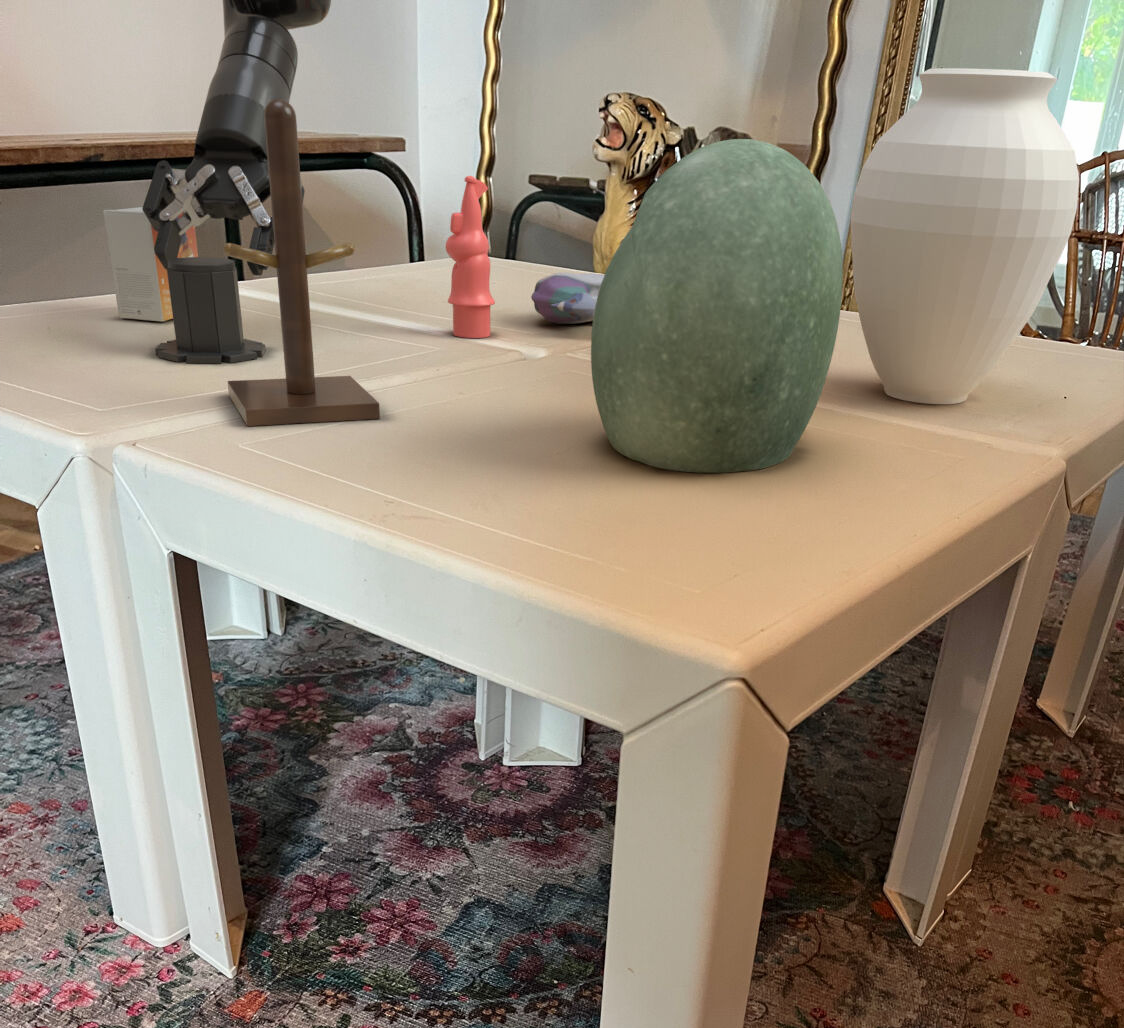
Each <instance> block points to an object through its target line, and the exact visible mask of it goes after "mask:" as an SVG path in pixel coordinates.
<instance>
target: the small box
mask: <svg viewBox="0 0 1124 1028" xmlns="http://www.w3.org/2000/svg"><path fill="white" fill-rule="evenodd" d="M142 208H143V206H139V207H131V208H121V209H103V211H102V212H103V219H104V225H105V233H106V240H107V245H108V253H109V259H110V266H111V271H112V273H111V274H112V280H113V287H114V293H115V299H116V305H117V312H118V317H119V318H120V319H128V320H141V321H153V322H167V321H169V320H173V314H172V306H171V298H170V290H169V283H168V275H167V270H166V269H165V268H164V267H163V265H162V263H161V262H160V261H159V259H158V257H157V256H156V254H155V251H154V246H155V243H156V240H157V239H156V238H157V235H158V232H157V231H155V230H154V228H153V227H152V225H151V223H150V222H149V220H148V218H147V217H146V215H145V213H144V212H143V209H142ZM182 216H183V213H181V214H180V215H179V216H178V217H177V218H176V221H177V220H178V219H179V218H180V217H182ZM196 234H197V233H196V226H192V227H191V228H190V229H188V230H187V231H186V232H185V233H184V234H183V235H181V238H182V241H181V245H180V249H179V253H178V257H177V258H185V257H199V253H198V252H199V251H198V243H197V235H196Z"/></svg>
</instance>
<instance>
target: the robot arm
mask: <svg viewBox="0 0 1124 1028" xmlns="http://www.w3.org/2000/svg"><path fill="white" fill-rule="evenodd" d="M331 5H332V0H222V10H223V31H224V34H223V35H224V37H223V38H224V40H223V43H222V47H221V50H220V55H219V59H218V63H217V67H216V69H215V72H214V75H213V76H212V78H211V81H210V83H209V87H208V90H207V94H206V98H205V101H204V105H203V110H202V114H201V116H200V117H201V118H200V122H199V126H198V128H197V129H198V130H197V134H196V137H195V141H194V150H193V159H192V161H191V163H190V164H189V165H188V166H187V167H186V169H180V168H173V167H171V165H170V163H169V161H167V160H160V161H158V162H157V164H156V167H155V169H154V172H153V175H152V178H151V181H150V184H149V187H148V190H147V193H146V196H145V198H144V202H143V205H142V207H143V208H142V209H143V212H144V213H145V215H146V217H147V218H148V220H149V222H150V223H151V225H152V227H153V228H154V230H155V231H157V232H158V235H157V238H156V239H157V240H156V243H155V246H154V251H155V254H156V256H157V257H158V259H159V261H160V262H161V263H162V265H163V267H164V268H165V269H166V270H167V269H168V260H170V259H175V258H177V257H178V253H179V249H180V245H181V241H182V238H181V235H183V234H184V233H185V232H186V231H187V230H188V229H190V228H191V227H192V226H195V228H196V227H199V226H201V225H202V224H203V223H204V222H206V221H207V220H208V219H209V218H210V219H217V220H219V219H225V218H228V219H232V220H235V221H243V219H244V218H246V217H249V216H250V218H251V220H252V221H253V222H254V224H255V226H254V227H253V230H252V234H251V238H250V241H249V247H248V248H251V249H254V250H258V251H262V252H265V253H269V254H273V252H274V249H275V242H274V230H273V218H272V216H271V217H270V215H269V214H268V212H267V210H266V208H265V207H264V205H263V204H264V203H265V202H266V201H267V200H268V199H269V198H271V194H270V182H269V170H268V159H267V147H266V135H265V123H264V110H265V107H266V105H267V104H268V103H269V102H270V101H272V100H274V99H282V100H285V101H287V102H288V103H289V104H290V99H291V95H292V92H293V87H294V83H295V78H296V74H297V68H298V63H299V62H298V61H299V51H298V46H297V44H296V41H295V39H294V37H293V36H292V34H291V33H290V31H289V30H295V29H300V28H307V27H312V26H315V25H318V24H320V23H322V22H323V21H324V20H325V19H326V18H327V15H328V14H329V12H330V8H331ZM305 191H306V189H305V188H304V185H303V182H302V181H301V193H302V206H303V204H304V198H305ZM194 199H195V200H196V201H197V203H198V205H199V206H198V207H196V208H194V206H193V200H194ZM181 213H183V216H182V217H180V218H179V219H178V220H177V221H176V218H177V217H178V216H179V215H180V214H181ZM246 263H247V266H248V268H249V270H250V272H251V275H253V276H259V277H261V276H262V275H263V273H264V271H267V270H268V268H269V267H267V266H264V265H260V264H256V263H253V262H249V261H246Z"/></svg>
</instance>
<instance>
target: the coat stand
mask: <svg viewBox="0 0 1124 1028" xmlns="http://www.w3.org/2000/svg"><path fill="white" fill-rule="evenodd" d="M264 123H265V135H266V147H267V159H268V170H269V182H270V194H271V196H270V205H271V206H270V207H271V217H272V218H273V230H274V242H275V243H274V253H275V254H273V253H272V254H269V253H265V252H262V251H258V250H254V249H251V248H249V247H248V246H244V245H239V244H236V243H232V242H227V243H225V244H224V245H223V252H224V254H225V255H226V256H228V257H230V258H234V259H238V260H242V261H245V262H247V261H249V262H253V263H256V264H260V265H264V266H267V267H268V268H272V269H275V270H276V275H277V276H276V277H277V278H276V279H277V290H278V300H279V313H280V326H281V337H282V346H283V347H282V348H283V349H282V350H283V359H284V371H285V373H284V374H285V378H266V379H264V378H263V379H243V380H227V390H228V396H229V398H230V399H231V402H232V403H233V405H234V406H235V408H236V410H237V411H238V413H239V415H240V417H241V418H242V420H243V421H244V423H245V424H246V426H247V427H257V426H258V427H259V426H260V427H261V426H274V425H275V426H276V425H277V426H278V425H292V424H309V423H327V422H329V423H331V422H344V421H345V422H346V421H347V422H348V421H364V420H365V421H366V420H379V419H380V418H381V414H380V402H379V401H377V400H376V399H375V398H374V397H373V396H372V395H371V394H370V393H369V392H368V391H367V390H366V389H365V388H364V387H363V386H362V385H360V384H359V383H358V381H356V380H355V378H353V377H352V376H351V375H337V376H334V375H333V376H315V363H314V350H313V348H314V347H313V335H312V323H311V321H312V320H311V307H310V292H309V279H308V270H309V269H311V268H314V267H318V266H320V265H321V266H322V265H324V264H327V263H330V262H334V261H336V260H337V261H338V260H340V259H344V258H346V257H347V258H348V257H350V256H352V255H354V253H355V246H354V244H353V243H352V242H344V243H341V244H338V245H335V246H331V247H328V248H324V249H322V250H319V251H318V250H317V251H315V252H311V253H308V254H307V251H306V250H307V249H306V237H305V236H306V235H305V223H304V207H303V205H302V193H301V182H302V180H301V179H302V178H301V167H300V166H301V165H300V155H299V154H300V153H299V138H298V137H299V136H298V125H297V115H296V110H295V109H294V107H293V106H292V104H290V102H289V103H288V102H287V101H285V100H282V99H274V100H272V101H270V102H269V103H268V104H267V105H266V107H265V110H264Z"/></svg>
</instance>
